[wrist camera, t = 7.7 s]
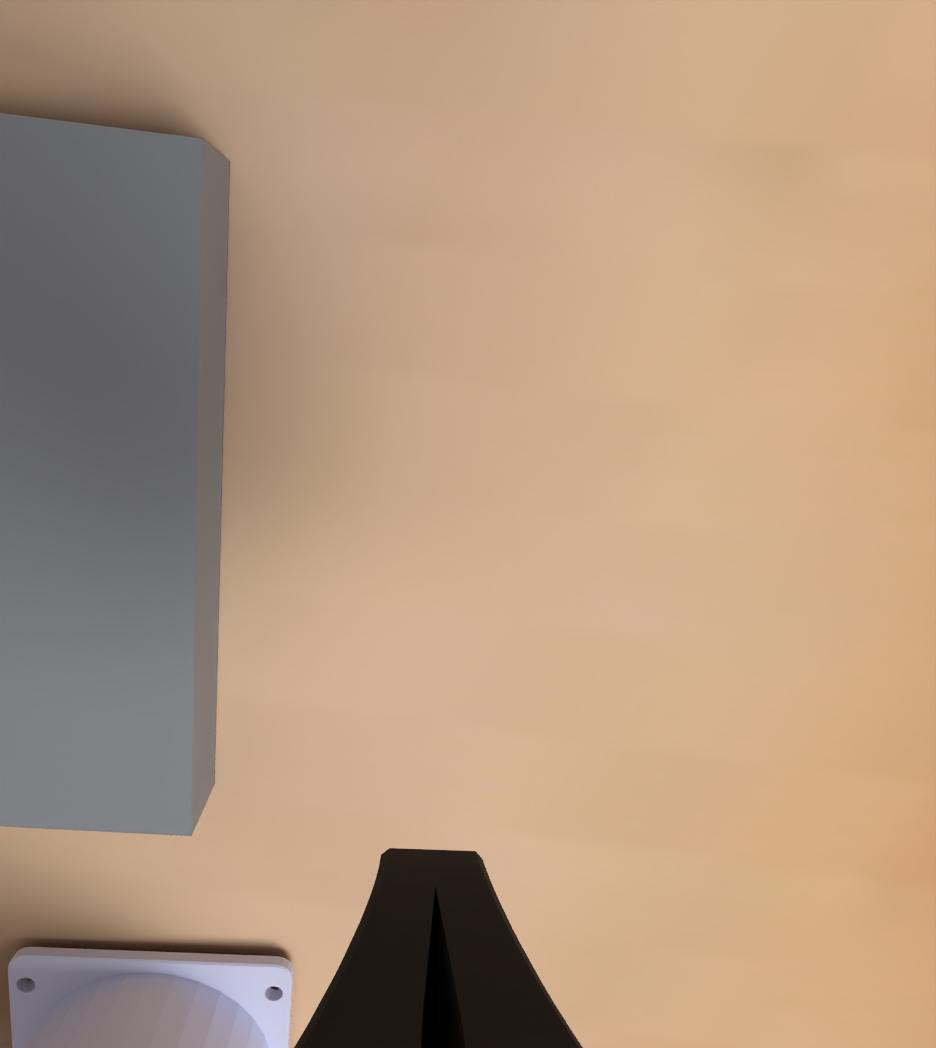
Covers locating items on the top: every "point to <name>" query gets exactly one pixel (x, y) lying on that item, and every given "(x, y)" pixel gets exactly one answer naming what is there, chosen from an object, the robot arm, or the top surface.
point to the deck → (109, 474)
